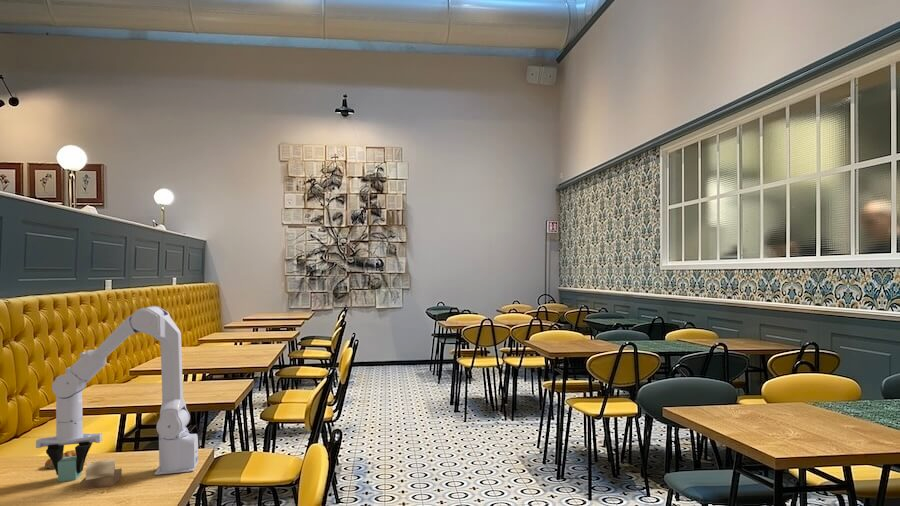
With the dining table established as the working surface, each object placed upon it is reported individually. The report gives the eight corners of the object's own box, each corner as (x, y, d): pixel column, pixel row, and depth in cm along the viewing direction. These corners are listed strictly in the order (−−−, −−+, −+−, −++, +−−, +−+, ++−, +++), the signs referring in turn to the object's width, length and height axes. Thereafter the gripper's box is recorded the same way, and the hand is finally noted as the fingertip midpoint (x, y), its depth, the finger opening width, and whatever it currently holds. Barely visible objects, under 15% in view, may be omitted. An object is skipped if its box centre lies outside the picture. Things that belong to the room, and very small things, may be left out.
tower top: (114, 468, 150) (114, 458, 150) (113, 475, 145) (114, 465, 145) (87, 472, 147) (87, 462, 147) (85, 480, 142) (85, 469, 142)
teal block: (81, 474, 151) (81, 455, 152) (75, 480, 148) (75, 460, 148) (64, 476, 150) (64, 457, 151) (57, 481, 147) (57, 462, 147)
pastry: (46, 472, 154) (46, 458, 154) (43, 466, 160) (43, 452, 160) (87, 464, 160) (87, 450, 160) (83, 458, 166) (83, 445, 166)
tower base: (121, 478, 150) (121, 468, 150) (113, 487, 143) (113, 477, 143) (91, 481, 148) (91, 471, 148) (81, 491, 141) (81, 481, 141)
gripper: (105, 413, 155) (106, 464, 155) (44, 418, 151) (44, 470, 151) (96, 420, 148) (97, 473, 148) (32, 425, 145) (32, 479, 144)
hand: (69, 472), depth 149 cm, fingers closed on teal block, 4 cm apart
